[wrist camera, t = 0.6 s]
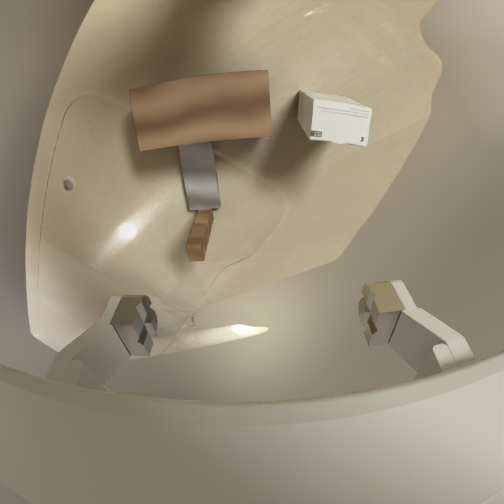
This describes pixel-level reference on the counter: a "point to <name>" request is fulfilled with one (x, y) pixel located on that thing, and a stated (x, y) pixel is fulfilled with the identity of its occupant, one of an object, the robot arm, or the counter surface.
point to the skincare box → (333, 118)
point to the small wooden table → (202, 109)
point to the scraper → (200, 193)
